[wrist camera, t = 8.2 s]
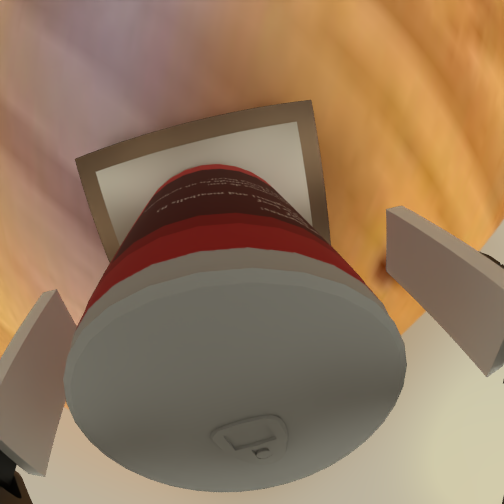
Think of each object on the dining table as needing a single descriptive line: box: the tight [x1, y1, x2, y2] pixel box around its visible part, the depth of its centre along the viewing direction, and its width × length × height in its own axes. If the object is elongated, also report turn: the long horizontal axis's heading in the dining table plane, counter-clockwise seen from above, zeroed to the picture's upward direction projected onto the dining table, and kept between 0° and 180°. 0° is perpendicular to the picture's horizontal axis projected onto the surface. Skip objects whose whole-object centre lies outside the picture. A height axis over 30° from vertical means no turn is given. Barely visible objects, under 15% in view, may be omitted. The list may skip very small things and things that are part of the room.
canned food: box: [63, 164, 407, 492], centre depth 11 cm, size 8×8×11 cm
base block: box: [75, 100, 331, 262], centre depth 18 cm, size 12×12×5 cm
